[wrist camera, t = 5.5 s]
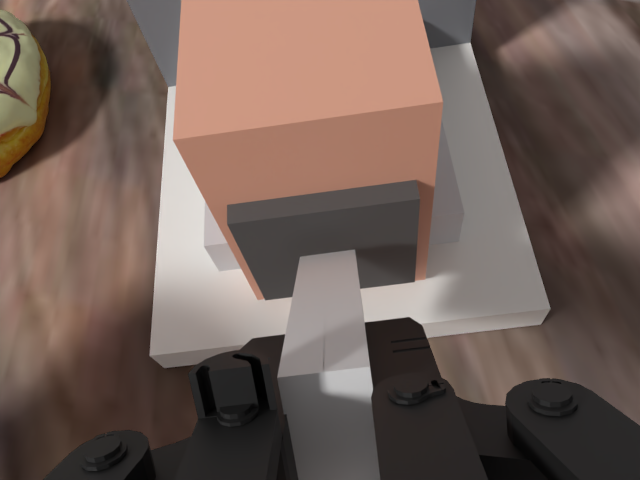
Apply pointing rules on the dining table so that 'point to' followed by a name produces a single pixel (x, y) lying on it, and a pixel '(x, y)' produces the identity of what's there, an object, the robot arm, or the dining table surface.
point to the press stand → (378, 302)
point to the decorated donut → (20, 90)
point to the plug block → (311, 133)
